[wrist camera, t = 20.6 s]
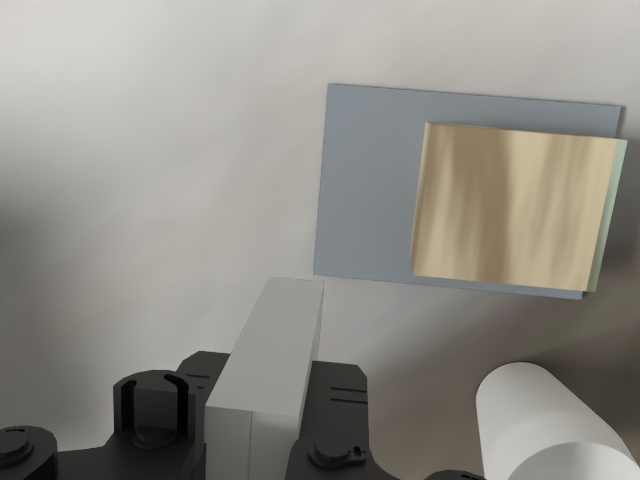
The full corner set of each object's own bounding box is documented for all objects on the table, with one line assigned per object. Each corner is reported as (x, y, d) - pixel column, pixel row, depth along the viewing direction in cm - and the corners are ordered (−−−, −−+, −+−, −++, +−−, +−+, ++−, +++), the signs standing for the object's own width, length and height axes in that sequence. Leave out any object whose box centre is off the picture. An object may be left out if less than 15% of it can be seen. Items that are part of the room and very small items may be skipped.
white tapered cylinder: (439, 381, 44) (468, 482, 33) (542, 327, 42) (611, 412, 31) (494, 466, 46) (540, 591, 34) (596, 417, 44) (681, 531, 32)
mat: (314, 272, 43) (313, 274, 42) (328, 83, 39) (328, 83, 38) (578, 296, 42) (581, 299, 41) (617, 106, 38) (621, 106, 37)
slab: (414, 275, 37) (595, 292, 37) (432, 124, 35) (627, 140, 34) (408, 258, 41) (572, 273, 41) (425, 121, 39) (600, 135, 38)
